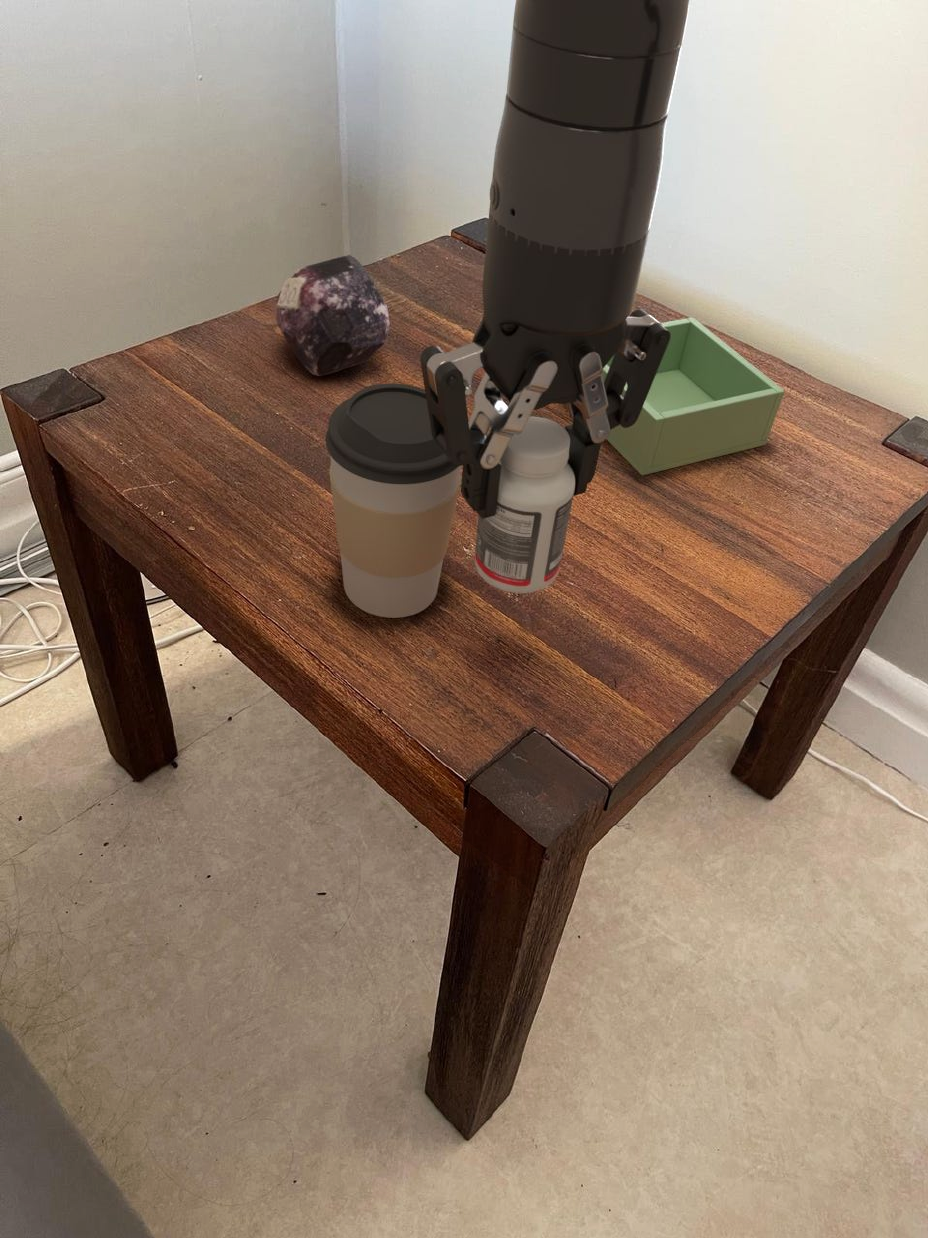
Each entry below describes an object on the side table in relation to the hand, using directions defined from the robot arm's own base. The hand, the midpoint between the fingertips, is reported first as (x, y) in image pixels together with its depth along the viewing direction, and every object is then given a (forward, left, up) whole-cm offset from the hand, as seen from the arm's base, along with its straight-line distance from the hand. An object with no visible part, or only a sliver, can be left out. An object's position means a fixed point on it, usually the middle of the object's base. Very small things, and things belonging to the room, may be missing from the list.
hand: (527, 496), depth 57 cm
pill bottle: (0, 0, -6) cm, 6 cm away
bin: (-14, -32, -14) cm, 37 cm away
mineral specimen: (+17, -36, -14) cm, 42 cm away
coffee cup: (+8, -6, -14) cm, 17 cm away
